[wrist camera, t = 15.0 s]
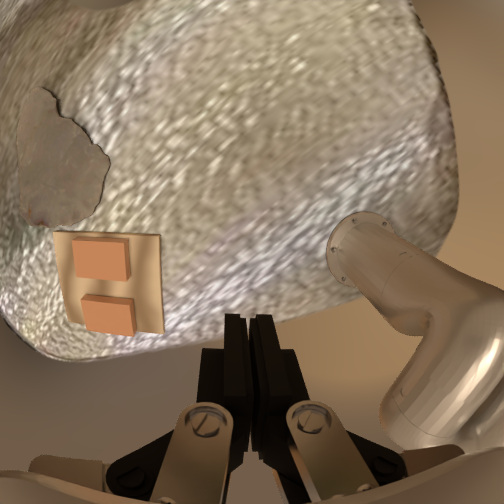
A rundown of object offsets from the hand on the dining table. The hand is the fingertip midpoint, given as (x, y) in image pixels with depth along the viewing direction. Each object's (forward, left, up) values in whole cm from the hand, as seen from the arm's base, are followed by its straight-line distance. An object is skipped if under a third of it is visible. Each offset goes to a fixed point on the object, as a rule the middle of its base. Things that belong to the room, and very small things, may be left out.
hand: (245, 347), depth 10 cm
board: (+20, +14, -32) cm, 40 cm away
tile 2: (+15, +19, -30) cm, 38 cm away
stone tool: (+30, -8, -33) cm, 45 cm away
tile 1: (+15, +9, -30) cm, 34 cm away
